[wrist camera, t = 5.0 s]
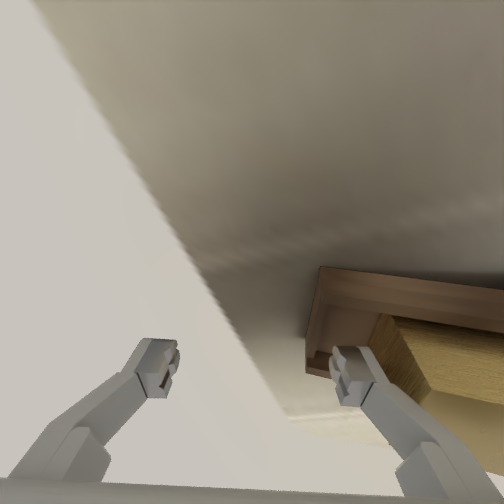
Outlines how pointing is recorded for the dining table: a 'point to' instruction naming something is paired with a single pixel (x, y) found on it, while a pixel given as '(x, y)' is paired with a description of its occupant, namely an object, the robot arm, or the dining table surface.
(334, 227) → the dining table surface
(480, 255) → the dining table surface
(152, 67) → the dining table surface
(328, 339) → the beam
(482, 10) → the dining table surface
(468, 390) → the rider
